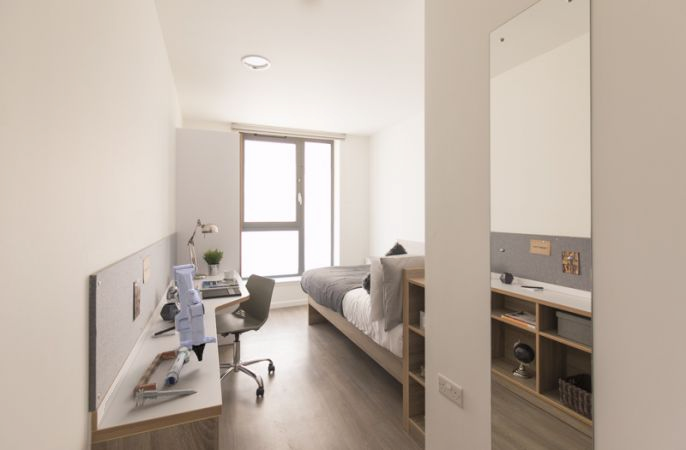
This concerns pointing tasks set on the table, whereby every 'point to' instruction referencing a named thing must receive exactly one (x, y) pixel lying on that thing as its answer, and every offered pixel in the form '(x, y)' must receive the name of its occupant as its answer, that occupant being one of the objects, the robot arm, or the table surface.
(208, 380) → the table surface
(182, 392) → the caliper
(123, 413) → the table surface
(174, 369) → the white tube
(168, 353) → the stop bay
